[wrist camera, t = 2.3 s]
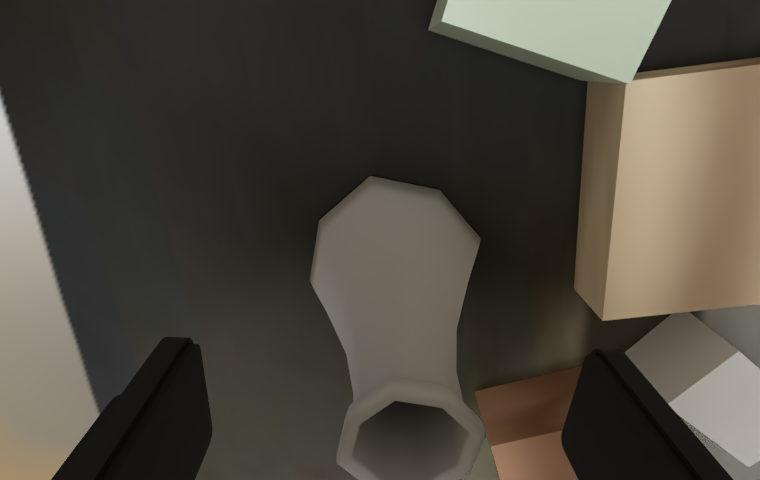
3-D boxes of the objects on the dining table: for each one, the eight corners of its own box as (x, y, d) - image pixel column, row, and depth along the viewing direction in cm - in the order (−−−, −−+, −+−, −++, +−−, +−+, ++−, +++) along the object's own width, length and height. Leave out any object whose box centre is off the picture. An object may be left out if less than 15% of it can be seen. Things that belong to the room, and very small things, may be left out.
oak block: (825, 47, 16) (923, 43, 13) (769, 262, 19) (835, 296, 16) (582, 78, 16) (626, 81, 13) (570, 284, 19) (602, 320, 17)
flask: (361, 143, 16) (343, 242, 7) (508, 228, 18) (649, 402, 9) (283, 283, 19) (194, 492, 10) (418, 348, 20) (454, 584, 11)
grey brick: (752, 366, 21) (820, 420, 18) (694, 408, 22) (748, 467, 19) (679, 304, 20) (738, 350, 16) (620, 352, 21) (665, 405, 17)
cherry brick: (591, 360, 21) (630, 414, 18) (598, 411, 22) (636, 470, 19) (473, 389, 21) (490, 446, 18) (487, 437, 23) (505, 498, 20)
